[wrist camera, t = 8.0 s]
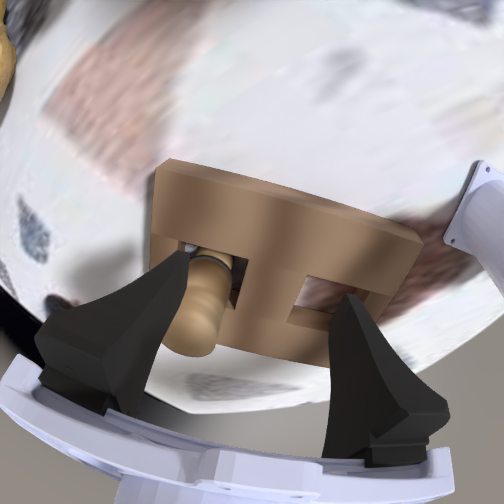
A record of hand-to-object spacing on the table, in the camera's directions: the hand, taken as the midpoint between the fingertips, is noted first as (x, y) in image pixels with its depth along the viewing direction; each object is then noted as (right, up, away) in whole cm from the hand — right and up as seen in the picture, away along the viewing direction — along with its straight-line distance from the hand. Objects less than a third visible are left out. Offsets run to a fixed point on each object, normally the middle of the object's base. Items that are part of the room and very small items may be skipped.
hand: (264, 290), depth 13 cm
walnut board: (+1, 0, +12) cm, 12 cm away
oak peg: (-4, +1, +12) cm, 13 cm away
